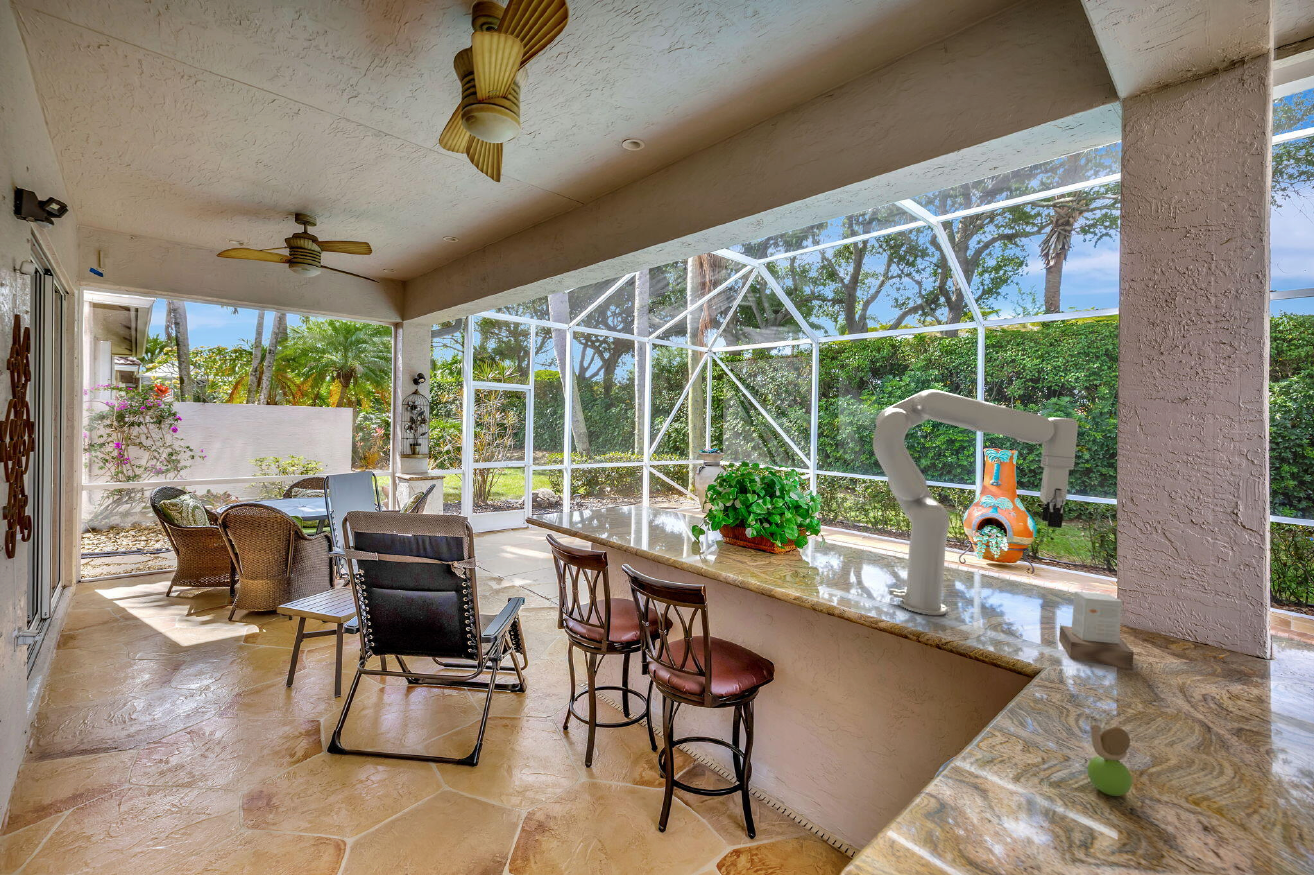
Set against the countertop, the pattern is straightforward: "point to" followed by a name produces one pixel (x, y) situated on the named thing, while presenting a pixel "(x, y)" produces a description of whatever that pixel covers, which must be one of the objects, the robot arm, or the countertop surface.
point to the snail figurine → (1109, 760)
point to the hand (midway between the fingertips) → (1051, 524)
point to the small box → (1096, 617)
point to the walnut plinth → (1096, 650)
